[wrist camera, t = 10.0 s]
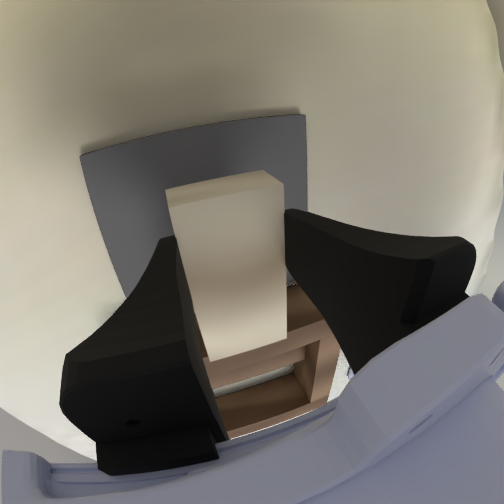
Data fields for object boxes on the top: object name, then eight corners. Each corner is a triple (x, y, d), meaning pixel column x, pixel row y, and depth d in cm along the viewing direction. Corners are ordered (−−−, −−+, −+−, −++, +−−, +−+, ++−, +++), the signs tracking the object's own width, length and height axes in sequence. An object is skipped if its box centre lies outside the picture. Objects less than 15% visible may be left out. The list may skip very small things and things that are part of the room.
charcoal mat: (302, 272, 21) (306, 276, 20) (137, 316, 18) (137, 322, 18) (300, 114, 15) (305, 114, 14) (82, 154, 12) (79, 156, 12)
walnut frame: (309, 376, 29) (326, 403, 26) (175, 417, 26) (183, 449, 22) (319, 277, 22) (347, 310, 19) (122, 331, 18) (123, 376, 15)
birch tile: (272, 313, 16) (286, 338, 14) (201, 333, 15) (210, 361, 13) (263, 169, 12) (283, 183, 10) (165, 189, 11) (168, 207, 9)
